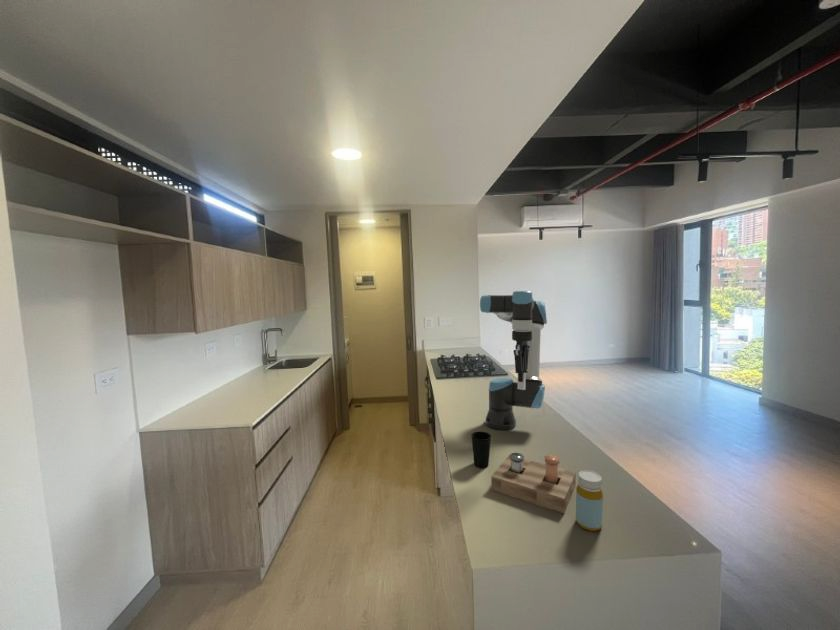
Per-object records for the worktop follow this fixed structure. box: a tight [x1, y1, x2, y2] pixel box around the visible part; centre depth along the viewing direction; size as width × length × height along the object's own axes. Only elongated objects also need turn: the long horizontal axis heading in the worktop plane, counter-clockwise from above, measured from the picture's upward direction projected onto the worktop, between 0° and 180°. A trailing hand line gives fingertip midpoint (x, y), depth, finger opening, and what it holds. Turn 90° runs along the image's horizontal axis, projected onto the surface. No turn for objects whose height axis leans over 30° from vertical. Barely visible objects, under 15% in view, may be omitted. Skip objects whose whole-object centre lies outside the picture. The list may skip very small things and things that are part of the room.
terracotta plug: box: [544, 454, 561, 485], centre depth 119 cm, size 5×5×9 cm
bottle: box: [575, 470, 604, 532], centre depth 103 cm, size 7×7×15 cm
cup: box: [470, 431, 492, 469], centre depth 139 cm, size 8×8×12 cm
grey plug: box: [509, 452, 525, 475], centre depth 126 cm, size 5×5×9 cm
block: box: [490, 454, 577, 515], centre depth 123 cm, size 18×24×5 cm
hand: (521, 388), depth 140 cm, fingers closed
